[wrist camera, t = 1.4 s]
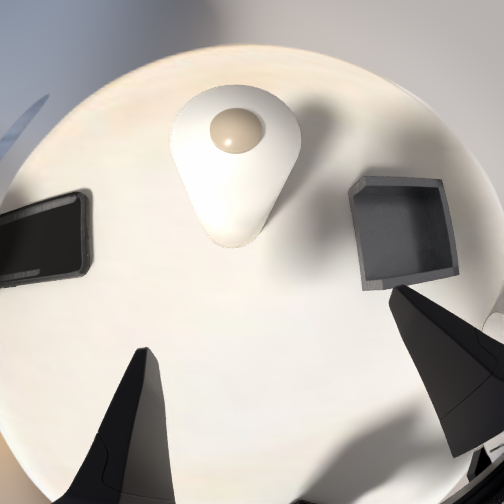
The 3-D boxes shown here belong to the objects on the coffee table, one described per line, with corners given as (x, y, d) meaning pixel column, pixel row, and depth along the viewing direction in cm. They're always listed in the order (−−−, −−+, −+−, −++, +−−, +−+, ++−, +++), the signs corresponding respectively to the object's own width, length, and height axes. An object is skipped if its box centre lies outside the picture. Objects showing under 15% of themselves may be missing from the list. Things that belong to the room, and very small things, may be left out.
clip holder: (421, 191, 25) (441, 179, 22) (436, 277, 24) (459, 274, 20) (347, 191, 24) (364, 176, 21) (362, 290, 23) (382, 289, 20)
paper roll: (276, 211, 24) (326, 123, 10) (238, 261, 23) (250, 219, 10) (226, 176, 24) (225, 64, 10) (188, 223, 23) (141, 142, 10)
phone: (-14, 219, 20) (85, 189, 22) (-8, 221, 22) (90, 193, 23) (-15, 289, 19) (86, 276, 21) (-8, 290, 21) (92, 277, 22)
